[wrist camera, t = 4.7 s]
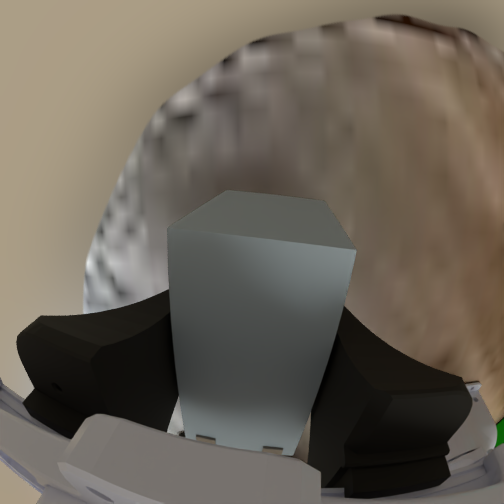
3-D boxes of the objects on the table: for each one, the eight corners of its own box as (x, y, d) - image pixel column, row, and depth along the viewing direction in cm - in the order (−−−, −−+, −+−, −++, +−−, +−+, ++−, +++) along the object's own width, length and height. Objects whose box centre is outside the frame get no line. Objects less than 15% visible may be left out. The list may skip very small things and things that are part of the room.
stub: (324, 201, 11) (358, 252, 6) (296, 357, 14) (292, 457, 8) (226, 189, 12) (165, 229, 6) (219, 346, 14) (184, 440, 9)
